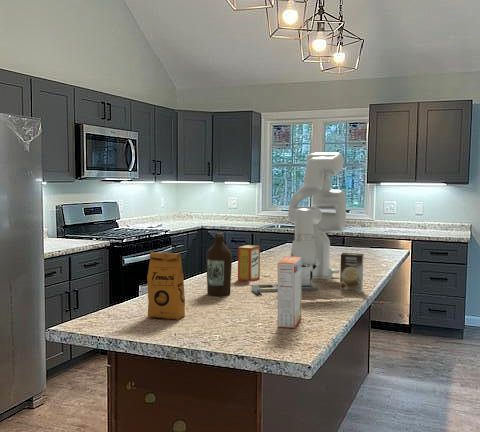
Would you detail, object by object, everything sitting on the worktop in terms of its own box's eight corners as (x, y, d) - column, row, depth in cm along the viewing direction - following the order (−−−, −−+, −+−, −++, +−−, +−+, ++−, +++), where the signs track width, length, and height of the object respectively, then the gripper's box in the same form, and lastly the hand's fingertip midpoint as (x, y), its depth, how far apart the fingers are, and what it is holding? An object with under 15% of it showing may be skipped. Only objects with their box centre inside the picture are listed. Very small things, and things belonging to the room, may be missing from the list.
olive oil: (211, 290, 224) (211, 231, 223) (235, 292, 221) (235, 232, 219) (202, 295, 214) (202, 233, 212) (226, 297, 211) (227, 234, 209)
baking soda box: (250, 281, 245) (250, 247, 244) (237, 280, 248) (238, 246, 247) (259, 278, 253) (259, 245, 252) (247, 277, 256) (247, 244, 255)
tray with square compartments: (310, 288, 230) (310, 282, 230) (318, 293, 220) (318, 287, 220) (251, 290, 225) (251, 284, 225) (257, 295, 215) (257, 289, 215)
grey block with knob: (306, 283, 227) (306, 264, 227) (310, 285, 223) (310, 266, 222) (296, 283, 226) (296, 264, 226) (299, 286, 222) (300, 266, 221)
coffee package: (177, 322, 173) (177, 255, 172) (143, 319, 177) (143, 253, 175) (189, 315, 183) (189, 251, 181) (156, 312, 186) (156, 249, 185)
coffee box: (339, 292, 223) (339, 254, 222) (341, 289, 229) (342, 252, 228) (361, 293, 220) (362, 255, 219) (363, 290, 226) (363, 253, 225)
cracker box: (284, 316, 181) (285, 255, 180) (301, 318, 179) (302, 256, 178) (275, 327, 168) (276, 261, 166) (294, 329, 166) (295, 262, 165)
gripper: (319, 236, 228) (319, 278, 230) (281, 237, 225) (281, 279, 227) (325, 238, 221) (325, 281, 223) (286, 239, 218) (286, 283, 219)
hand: (303, 280), depth 225 cm, fingers closed on grey block with knob, 4 cm apart
